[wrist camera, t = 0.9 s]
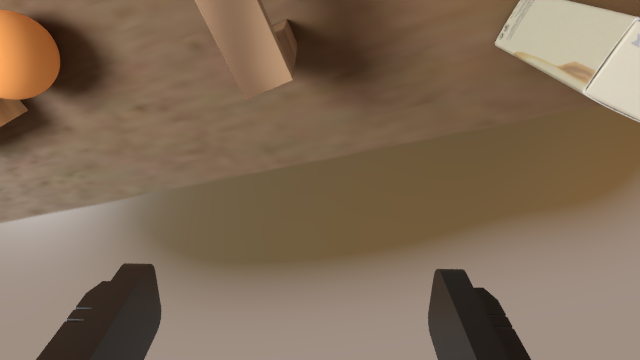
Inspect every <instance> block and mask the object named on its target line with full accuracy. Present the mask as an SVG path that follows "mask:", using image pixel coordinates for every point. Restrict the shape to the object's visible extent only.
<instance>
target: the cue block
mask: <svg viewBox="0 0 640 360" xmlns="http://www.w3.org/2000/svg"><path fill="white" fill-rule="evenodd" d="M26 111H28V110H27V108H26V107H25V106H24V105H23V104H22V102H21V101H20V100H12V99H4V98H0V127H1V126H3V125H4V124H6V123H8V122H9V121H11V120H13V119H15V118H16V117H18V116H20V115H21V114H23V113H25V112H26Z"/></svg>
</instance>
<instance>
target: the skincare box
mask: <svg viewBox="0 0 640 360" xmlns="http://www.w3.org/2000/svg"><path fill="white" fill-rule="evenodd" d="M495 45H496V46H497V47H499V48H501V49H502V50H504V51H506V52H508V53H510V54H511V55H513V56H515V57H517V58H519V59H521V60H522V61H524V62H526V63H528V64H530V65H531V66H533V67H535V68H537V69H539V70H540V71H542V72H544V73H546V74H548V75H550V76H551V77H553V78H555V79H557V80H559V81H560V82H562V83H564V84H566V85H568V86H569V87H571V88H573V89H575V90H576V91H578V92H580V93H582V94H584V95H585V96H587V97H589V98H590V99H592V100H594V101H596V102H598V103H599V104H601V105H603V106H605V107H607V108H609V109H611V110H613V111H616V112H618V113H620V114H622V115H624V116H627V117H629V118H631V119H633V120H635V121H638V122H640V18H639V17H636V16H632V15H627V14H623V13H619V12H615V11H611V10H607V9H602V8H598V7H594V6H589V5H585V4H580V3H576V2H572V1H568V0H520V1H519V3H518V5H517V6H516V8H515V9H514V11H513V12H512V14H511V16H510V17H509V19H508V21H507V22H506V24H505V26H504V27H503V29H502V31H501V33H500V34H499V36H498V38H497V40H496V41H495Z"/></svg>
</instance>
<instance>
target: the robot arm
mask: <svg viewBox="0 0 640 360" xmlns="http://www.w3.org/2000/svg"><path fill="white" fill-rule="evenodd" d="M505 315H506V314H505V313H504V311H503V309H502V307H501V305H500V303H499V302H498V300H497V299H496V298H495V297H493V296H492V295H491V294H490V293H489V292H488V291H486V290H485V289H484V288H473V286H472V284H471V282H470V280H469V278H468V276H467V274H466V272H465V271H464V270H463V269H462V270H461V269H459V270H458V269H437V270H436V271H435V274H434V279H433V285H432V292H431V298H430V305H429V312H428V325H429V331H430V336H431V339H432V342H433V345H434V348H435V351H436V355H437V358H438V360H531V359H530V357H529V355H528V353H527V352H526V350H525V348H524V346H523V345H522V343H521V341H520V339H519V337H518V336H517V334H516V332H515V330H514V329H512V325H511V323H510V321H509V320H508V318H507V317H506V316H505ZM160 320H161V304H160V298H159V292H158V285H157V279H156V273H155V269H154V266H153V265H152V264H123V265H122V266H121V267H120V269H119V270H118V271H117V273H116V274H115V276H114V277H113V279H112V280H111V281H103V282H101V283H100V284H99V285H97V286H96V287H94V288H93V289H91V290H90V291H89V292H87V293H86V294H85V296H84V297H83V298H82V300H81V301H80V302H79V304H78V305H77V306H76V310H73V312H72V313H71V314H70V315H69V317H68V318H67V322H64V323H63V325H62V326H61V327H60V329H59V330H58V331H57V333H56V334H55V335H54V337H53V338H52V339H51V341H50V342H49V343H48V345H47V346H46V347H45V349H44V350H43V351H42V353H41V354H40V355H39V357H38V358H37V359H36V360H144V358H145V356H146V354H147V352H148V350H149V347H150V345H151V343H152V341H153V339H154V337H155V335H156V333H157V331H158V328H159V324H160Z"/></svg>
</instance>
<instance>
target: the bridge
mask: <svg viewBox="0 0 640 360" xmlns="http://www.w3.org/2000/svg"><path fill="white" fill-rule="evenodd" d="M195 2H196V4H197V6H198V8H199V10H200V12H201V14H202V16H203V18H204V20H205V21H206V23H207V25H208V27H209V29H210V31H211V33H212V35H213V37H214V39H215V41H216V43H217V45H218V47H219V49H220V51H221V53H222V55H223V57H224V59H225V61H226V62H227V64H228V66H229V68H230V70H231V72H232V74H233V76H234V78H235V80H236V82H237V84H238V86H239V88H240V90H241V92H242V94H243V96H244V98H245V100H246V99H248V98H250V97H253V96H255V95H258V94H260V93H262V92H265V91H267V90H270V89H272V88H275V87H277V86H279V85H282V84H284V83H287V82H289V81H291V80H293V75H294V68H295V61H296V54H297V47H298V44H297V41H296V39H295V37H294V34H293V32H292V30H291V27H290V25H289V23H288V20H287V19H286V20H284V21H281V22H279V23H277V24H275V25H271V22H270V20H269V18H268V16H267V13H266V11H265V9H264V7H263V4H262V2H261V0H195Z"/></svg>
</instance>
